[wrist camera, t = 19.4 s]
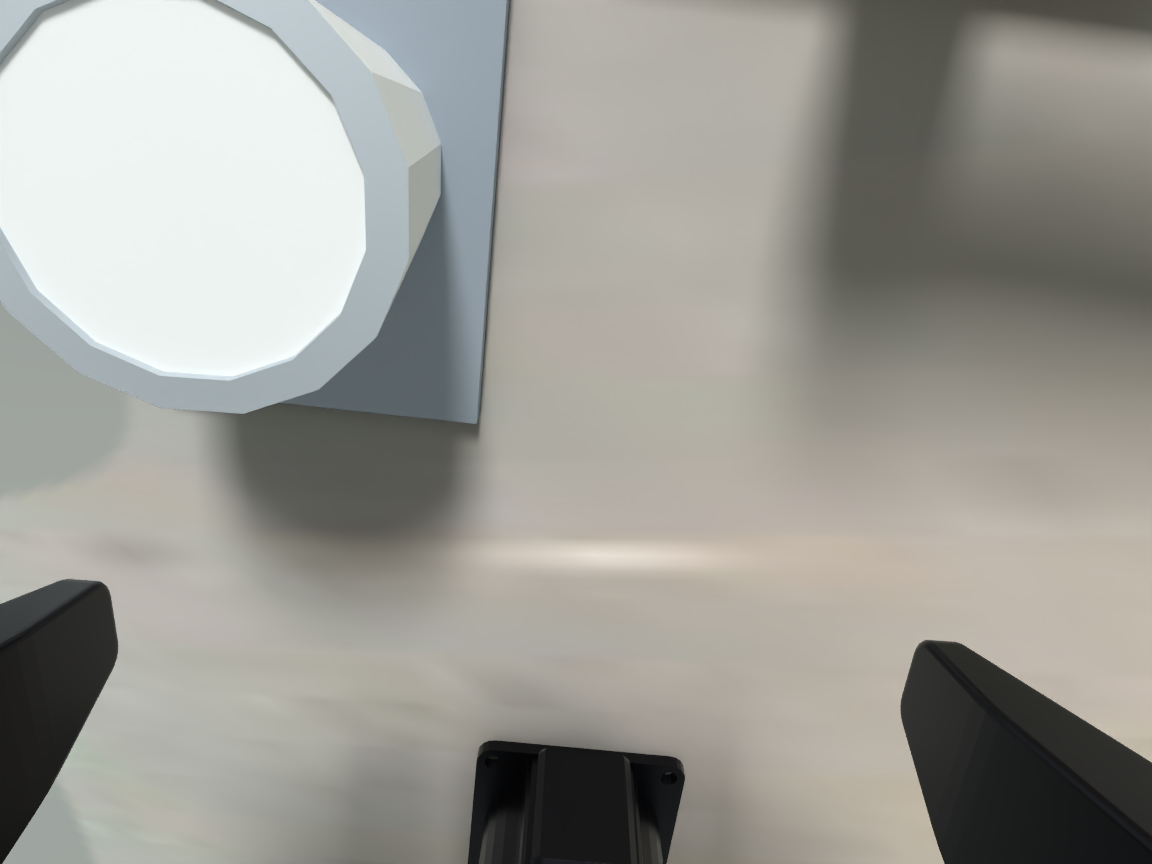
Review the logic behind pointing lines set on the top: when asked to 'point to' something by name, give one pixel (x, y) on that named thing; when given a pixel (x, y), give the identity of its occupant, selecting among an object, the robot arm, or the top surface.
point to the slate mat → (436, 214)
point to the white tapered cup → (206, 192)
